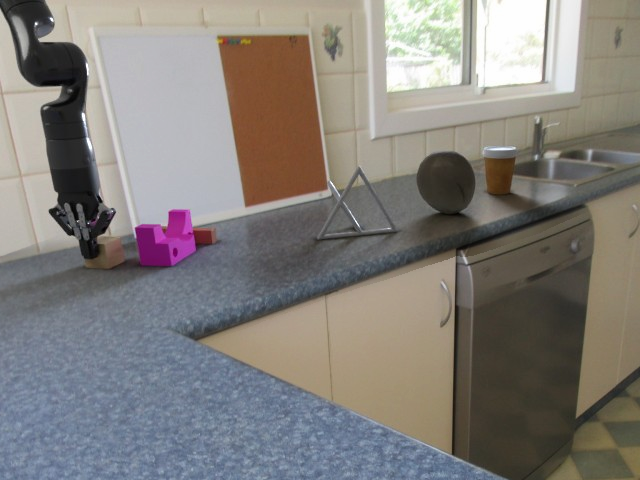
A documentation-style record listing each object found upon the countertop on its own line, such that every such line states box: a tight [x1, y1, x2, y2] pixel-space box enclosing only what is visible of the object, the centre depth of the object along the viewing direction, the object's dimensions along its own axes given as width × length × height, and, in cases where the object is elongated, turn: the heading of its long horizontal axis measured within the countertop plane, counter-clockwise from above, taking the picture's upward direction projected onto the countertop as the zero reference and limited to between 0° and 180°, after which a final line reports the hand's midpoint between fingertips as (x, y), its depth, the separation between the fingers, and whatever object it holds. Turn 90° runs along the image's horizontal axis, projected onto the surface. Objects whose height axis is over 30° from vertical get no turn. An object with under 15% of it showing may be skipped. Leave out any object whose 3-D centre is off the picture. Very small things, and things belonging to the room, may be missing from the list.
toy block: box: [134, 208, 197, 267], centre depth 131 cm, size 15×6×8 cm, turn 171°
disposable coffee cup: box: [482, 145, 519, 195], centre depth 181 cm, size 10×10×12 cm
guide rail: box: [161, 225, 218, 245], centre depth 141 cm, size 16×2×3 cm, turn 76°
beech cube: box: [83, 235, 126, 270], centre depth 126 cm, size 5×5×5 cm
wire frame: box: [316, 165, 399, 240], centre depth 145 cm, size 18×13×16 cm
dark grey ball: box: [415, 150, 476, 215], centre depth 158 cm, size 14×14×15 cm
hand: (91, 258), depth 123 cm, fingers closed
